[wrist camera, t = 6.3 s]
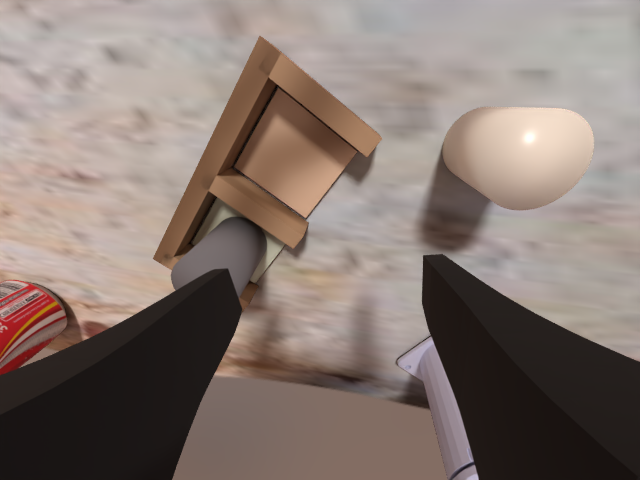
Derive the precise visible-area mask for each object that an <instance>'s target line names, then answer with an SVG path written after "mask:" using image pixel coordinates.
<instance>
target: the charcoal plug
mask: <svg viewBox="0 0 640 480" xmlns="http://www.w3.org/2000/svg"><path fill="white" fill-rule="evenodd" d="M266 250H267V239H266V236H265V234H264V232H263V231H262V229H261V228H260V227H259V226H258V225H257V224H256V223H254V222H253V221H251V220H249V219H247V218H243V217H229V218H226V219H224V220H223V221H222V222H221V223H219V224H218V225H217V226H216V227H215V228H214V229H213V230H212V231H211V232H210V233H209V234H208V235H206V236H205V237H204V238H203V239H202V240H201V241H200V242H199V243H198V244H197V245H196V246H194V247H193V248H192V249H191V250H190V251H189V252H188V253H187V254H186V255H185V256H184V257H182V258H181V259H180V260H179V261H178V262H177V263H176V264H175V265H174V267H173V269H172V272H171V280H172V284H173V287H174V289H175V290H178V289H179V288H181V287H183V286H184V285H186V284H188V283H189V282H191V281H193V280H194V279H196V278H198V277H199V276H201V275H203V274H205V273H207V272H209V271H211V270H213V269H225V268H228V270H229V272H230V275H231V278H232V281H233V284H234V287H235V289H236V292H237V295H238V298H239V297H240V296H241V294H242V292H243V290H244V289H245V287H246V285H247V284H248V282H249V280H250V278H251V277H252V275H253V273H254V272H255V270H256V268H257V266H258V265H259V263H260V261H261V260H262V258H263V256H264V254H265V252H266Z"/></svg>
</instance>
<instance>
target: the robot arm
mask: <svg viewBox="0 0 640 480" xmlns="http://www.w3.org/2000/svg"><path fill="white" fill-rule="evenodd" d="M422 305H423V309H424V313H425V317H426V321H427V325H428V329H429V332H430V334H431V337H429V338H428V339H426V340H425V341H424V342H422V343H421V344H419V345H418V346H416V347H415V348H413V349H412V350H411V351H409V352H408V353H406V354H405V355H403V356H402V357H400V358H399V359H398V366H399V367H401V368H402V369H404V370H406V371H407V372H409V373H410V374H412V375H413V376H415V377H417V378H418V379H420V380H421V381H423V382H424V386H425V390H426V394H427V398H428V402H429V406H430V410H431V414H432V418H433V423H434V427H435V430H436V435H437V439H438V443H439V447H440V450H441V455H442V458H443V463H444V467H445V471H446V475H447V479H448V480H640V362H638V361H636V360H634V359H631V358H629V357H626V356H624V355H622V354H620V353H617V352H615V351H613V350H610V349H608V348H606V347H604V346H601V345H599V344H597V343H595V342H592V341H590V340H588V339H586V338H584V337H581V336H579V335H577V334H575V333H573V332H571V331H569V330H567V329H565V328H563V327H561V326H559V325H557V324H555V323H553V322H551V321H549V320H547V319H545V318H543V317H541V316H539V315H537V314H535V313H534V312H532V311H530V310H528V309H526V308H524V307H523V306H521V305H519V304H518V303H516V302H514V301H513V300H511V299H509V298H507V297H506V296H504V295H502V294H501V293H499V292H498V291H496V290H494V289H493V288H491V287H490V286H488V285H487V284H485V283H484V282H482V281H481V280H479V279H478V278H476V277H475V276H473V275H472V274H470V273H469V272H467V271H466V270H465V269H463V268H462V267H460V266H459V265H457V264H456V263H455V262H453V261H452V260H450V259H449V258H447V257H446V256H444V255H443V254H438V255H423V284H422ZM242 310H243V309H242V306H241V304H240V301H239V298H238V295H237V292H236V289H235V287H234V284H233V281H232V278H231V275H230V272H229V270H228V268H225V269H213V270H211V271H209V272H207V273H205V274H203V275H201V276H199V277H198V278H196V279H194V280H193V281H191V282H189V283H188V284H186V285H184V286H183V287H181V288H179V289H178V290H176V291H174V292H173V293H171V294H169V295H168V296H166V297H164V298H163V299H161V300H160V301H158V302H156V303H154V304H153V305H151V306H149V307H147V308H146V309H144V310H142V311H140V312H139V313H137V314H135V315H133V316H132V317H130V318H128V319H126V320H124V321H122V322H121V323H119V324H117V325H115V326H113V327H111V328H109V329H107V330H105V331H103V332H101V333H99V334H97V335H95V336H93V337H91V338H89V339H86V340H84V341H82V342H80V343H78V344H75V345H73V346H71V347H68V348H66V349H64V350H62V351H59V352H57V353H55V354H53V355H50V356H48V357H46V358H43V359H41V360H38V361H36V362H33V363H31V364H28V365H26V366H23V367H21V368H18V369H16V370H13V371H10V372H8V373H5V374H2V375H0V480H172V478H173V475H174V472H175V469H176V466H177V463H178V461H179V458H180V455H181V452H182V449H183V446H184V444H185V441H186V438H187V436H188V433H189V430H190V428H191V425H192V423H193V420H194V417H195V415H196V412H197V410H198V407H199V405H200V402H201V400H202V398H203V396H204V394H205V391H206V389H207V387H208V385H209V383H210V381H211V379H212V377H213V376H214V374H215V372H216V370H217V368H218V366H219V364H220V362H221V360H222V358H223V356H224V354H225V352H226V350H227V348H228V346H229V344H230V342H231V340H232V338H233V336H234V333H235V331H236V328H237V325H238V322H239V319H240V316H241V313H242Z"/></svg>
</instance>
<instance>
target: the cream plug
mask: <svg viewBox="0 0 640 480" xmlns="http://www.w3.org/2000/svg"><path fill="white" fill-rule="evenodd" d="M593 151H594V136H593V133H592V130H591V128H590V126H589V124H588V123H587V121H586V120H585V119H584V118H583V117H581V116H580V115H578V114H577V113H575V112H573V111H570V110H566V109H560V108H522V107H481V108H477V109H474V110H471V111H469V112H467V113H466V114H464V115H463V116H461V117H460V118H459V119H458V120H457V121H456V122H455V123H454V124H453V125H452V126H451V128H450V129H449V131H448V132H447V134H446V136H445V139H444V142H443V148H442V155H443V160H444V163H445V165H446V167H447V168H448V169H449V170H450V171H451V172H452V173H453V174H454V175H456V176H457V177H459V178H460V179H462V180H463V181H464V182H466V183H467V184H469V185H470V186H471V187H473V188H474V189H476V190H477V191H479V192H480V193H481V194H483V195H484V196H486V197H487V198H489V199H490V200H491V201H493V202H494V203H496V204H497V205H499V206H501V207H504V208H507V209H511V210H529V209H535V208H539V207H542V206H544V205H547V204H549V203H551V202H553V201H555V200H557V199H559V198H560V197H562V196H563V195H564V194H566V193H567V192H568V191H569V190H571V189H572V188H573V187H574V186H575V185H576V184H577V183H578V181H579V180H580V179H581V178H582V176H583V175H584V173H585V172H586V170H587V168H588V166H589V164H590V162H591V159H592V156H593Z"/></svg>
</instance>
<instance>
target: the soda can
mask: <svg viewBox="0 0 640 480" xmlns="http://www.w3.org/2000/svg"><path fill="white" fill-rule="evenodd" d="M66 326H67V317H66V310H65V307H64V305H63V304H62V302H61V301H60V300H59V298H58V297H57V296H56V295H54V294H53V293H52V292H50V291H49V290H47V289H46V288H44V287H42V286H40V285H37V284H33V283H27V282H24V281H19V280H6V281H3V282H1V283H0V375H2V374H5V373H8V372H10V371H13V370H16V369H18V368H19V367H21V366H22V365H23V364H24V363H26V362H27V361H28V360H29V359H30V358H32V357H33V356H34V355H36V354H37V353H38V352H39V351H41V350H42V349H43V348H44V347H46V346H47V345H48V344H49V343H50V342H51V341H52V340H53V339H55V338H56V337H57V336H58V335H59V334H60V333H61V332H62V331H63V330H64V329H65V328H66Z"/></svg>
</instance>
